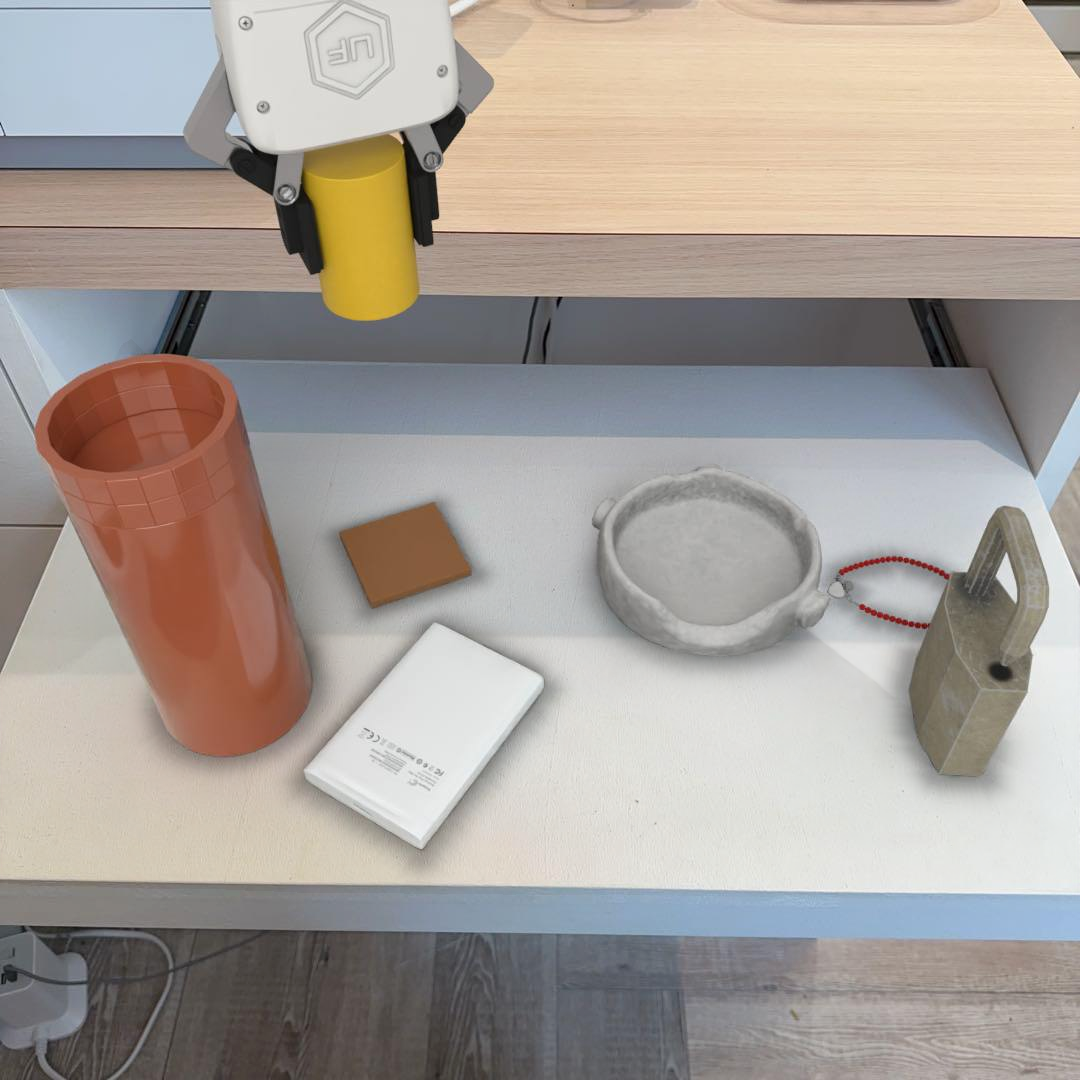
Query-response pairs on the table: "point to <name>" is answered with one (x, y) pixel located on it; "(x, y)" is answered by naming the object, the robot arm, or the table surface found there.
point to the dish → (709, 562)
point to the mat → (404, 554)
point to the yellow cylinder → (363, 227)
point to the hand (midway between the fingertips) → (364, 243)
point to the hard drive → (425, 733)
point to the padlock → (980, 649)
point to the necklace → (844, 586)
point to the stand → (181, 545)
